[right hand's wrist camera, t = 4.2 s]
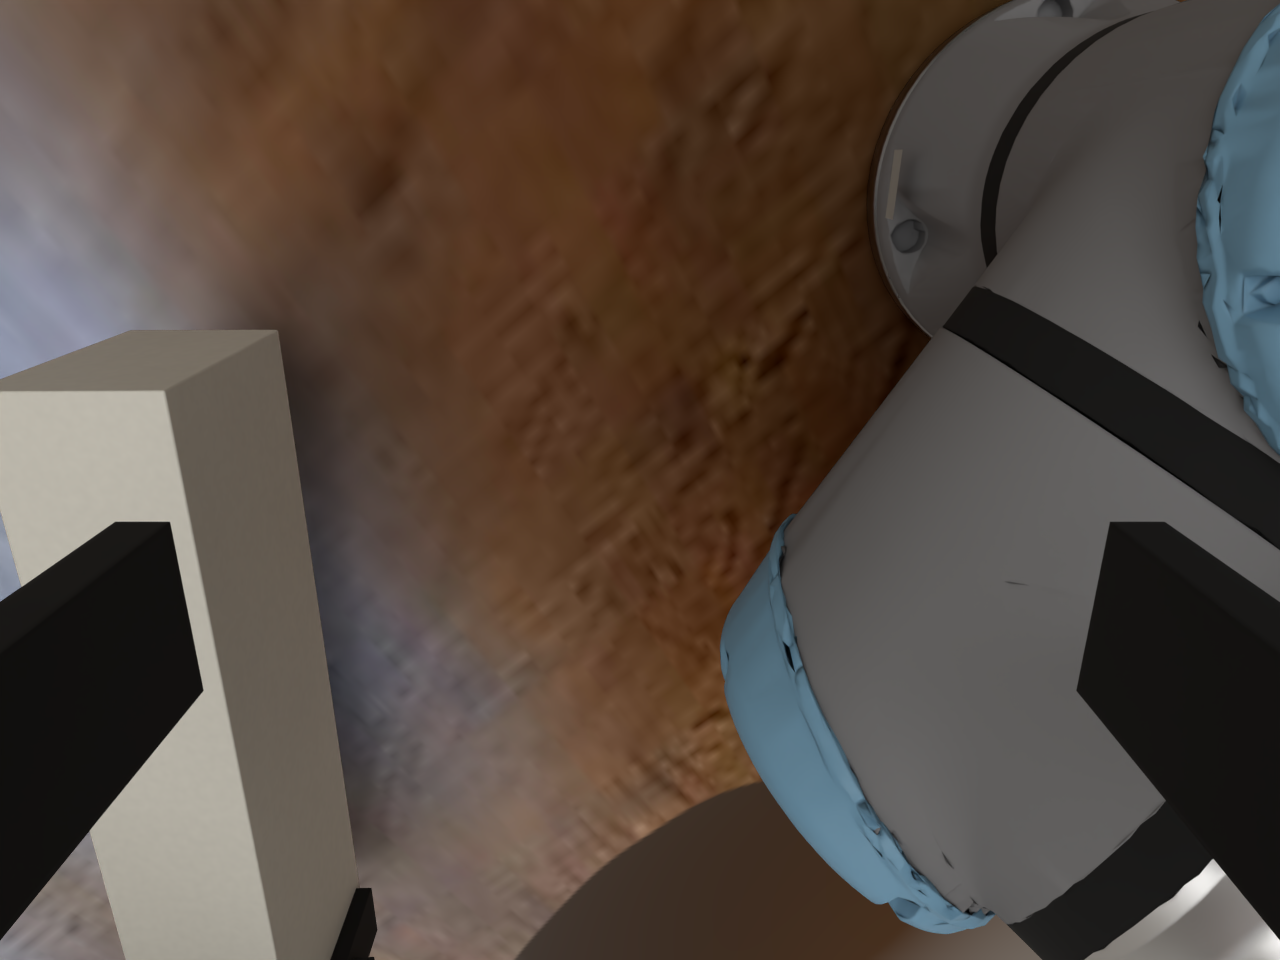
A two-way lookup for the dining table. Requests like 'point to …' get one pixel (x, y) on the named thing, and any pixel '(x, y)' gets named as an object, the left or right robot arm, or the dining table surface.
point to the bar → (200, 634)
